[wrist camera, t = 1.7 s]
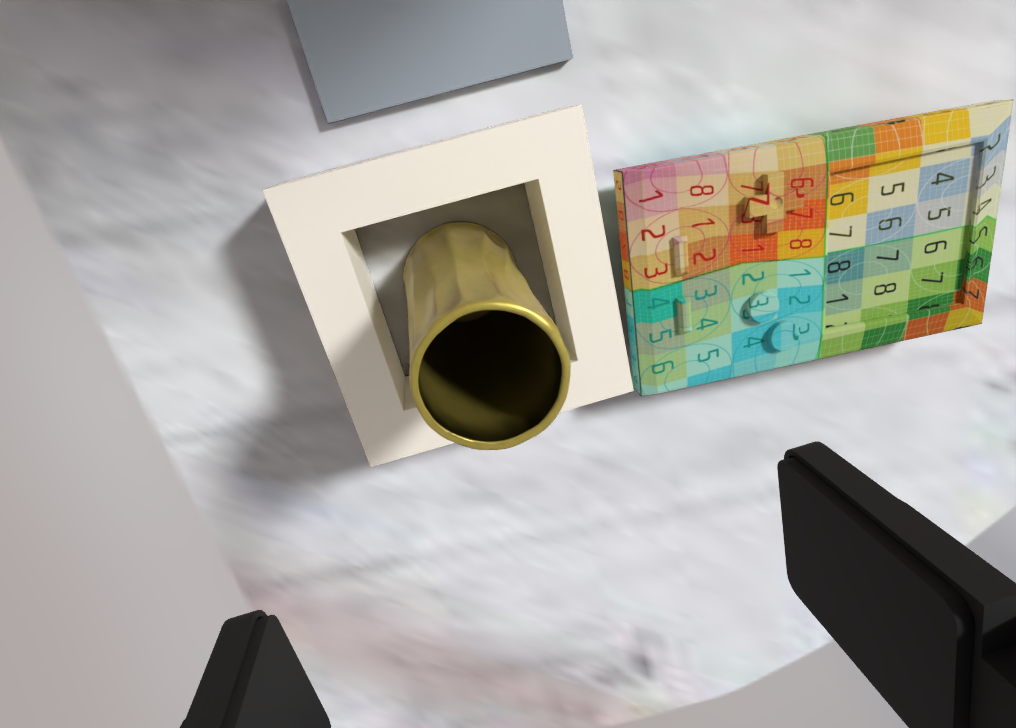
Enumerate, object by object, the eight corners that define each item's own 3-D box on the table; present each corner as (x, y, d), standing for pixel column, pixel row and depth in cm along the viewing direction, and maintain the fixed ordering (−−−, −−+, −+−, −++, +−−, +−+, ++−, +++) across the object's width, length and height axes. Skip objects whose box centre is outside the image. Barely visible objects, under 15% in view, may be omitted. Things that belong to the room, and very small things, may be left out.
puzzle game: (627, 172, 27) (1031, 98, 29) (598, 167, 32) (950, 103, 33) (647, 403, 32) (996, 328, 33) (619, 370, 36) (929, 306, 38)
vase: (509, 337, 34) (570, 466, 21) (399, 329, 33) (389, 460, 20) (523, 227, 32) (600, 294, 19) (406, 215, 31) (400, 277, 18)
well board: (283, 181, 29) (262, 189, 25) (558, 108, 30) (581, 104, 26) (376, 427, 35) (370, 467, 31) (608, 360, 35) (633, 390, 31)
